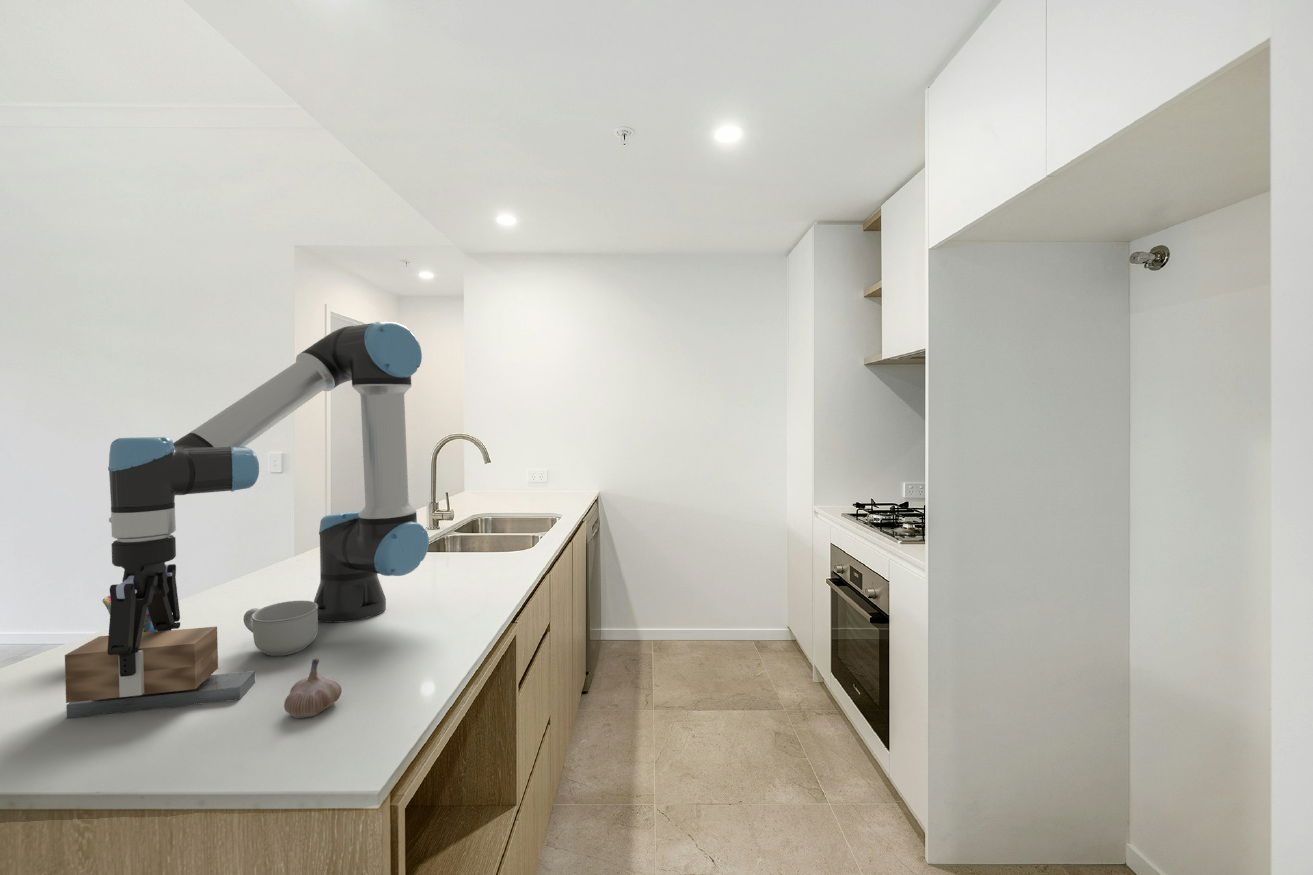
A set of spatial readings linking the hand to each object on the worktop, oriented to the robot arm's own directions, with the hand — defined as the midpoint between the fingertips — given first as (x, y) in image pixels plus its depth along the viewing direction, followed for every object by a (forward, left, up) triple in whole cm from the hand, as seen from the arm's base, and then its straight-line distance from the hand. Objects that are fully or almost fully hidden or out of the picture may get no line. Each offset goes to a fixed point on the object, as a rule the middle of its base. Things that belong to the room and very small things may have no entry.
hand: (148, 682), depth 93 cm
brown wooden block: (0, 0, 0) cm, 0 cm away
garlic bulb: (-25, +10, -3) cm, 28 cm away
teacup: (-12, -19, -3) cm, 23 cm away
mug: (+14, -27, -3) cm, 30 cm away
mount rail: (-2, 0, -3) cm, 4 cm away
